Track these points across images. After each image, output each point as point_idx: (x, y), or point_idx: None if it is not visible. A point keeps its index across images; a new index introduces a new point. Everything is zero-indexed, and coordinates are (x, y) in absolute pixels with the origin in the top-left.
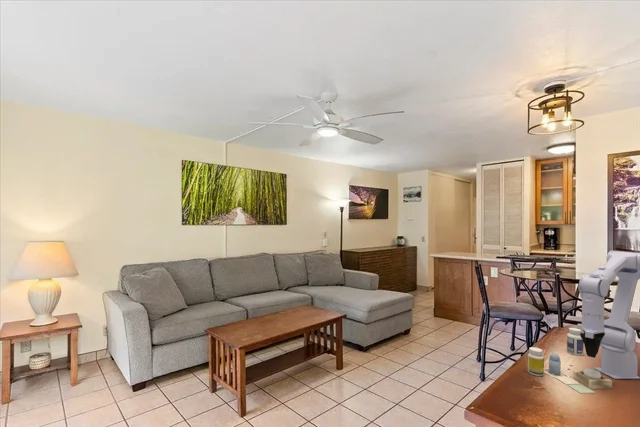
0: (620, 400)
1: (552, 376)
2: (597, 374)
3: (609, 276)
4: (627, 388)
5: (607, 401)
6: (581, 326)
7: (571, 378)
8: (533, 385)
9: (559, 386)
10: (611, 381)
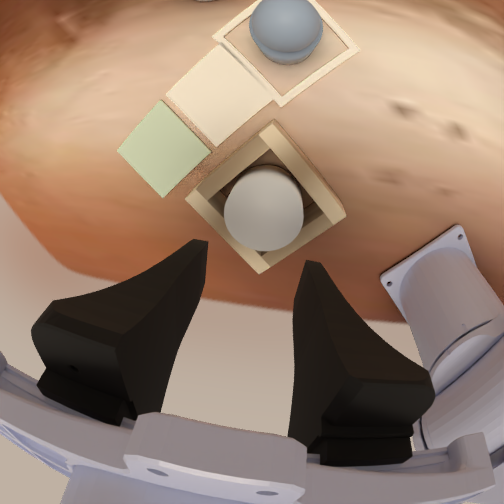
0: None
1: (216, 34)
2: (231, 234)
3: None
4: None
5: (125, 228)
6: (118, 457)
7: (257, 111)
8: (73, 12)
9: (126, 77)
10: (257, 270)
